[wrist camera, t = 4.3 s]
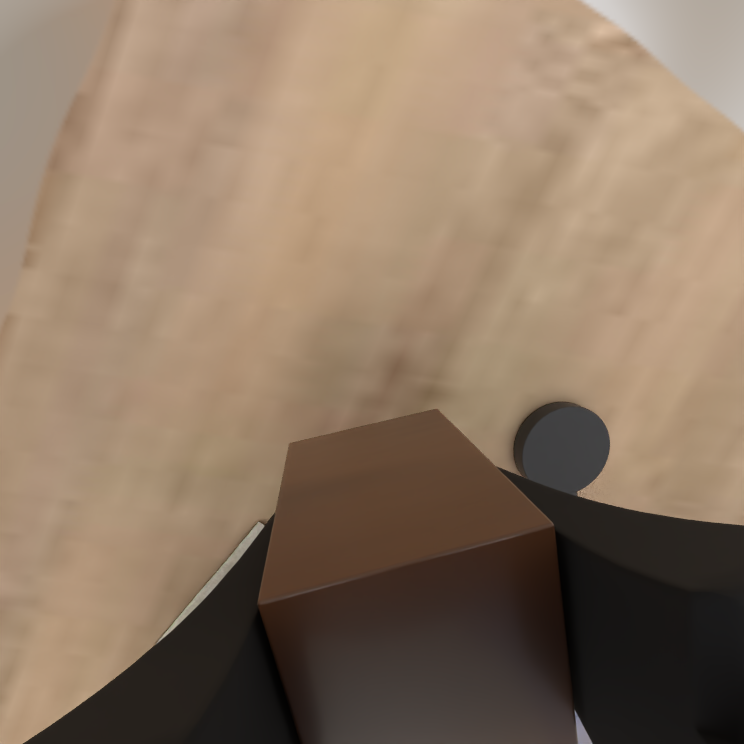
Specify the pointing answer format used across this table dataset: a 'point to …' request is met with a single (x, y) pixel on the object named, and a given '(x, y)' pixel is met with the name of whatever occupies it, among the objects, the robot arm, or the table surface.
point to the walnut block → (414, 594)
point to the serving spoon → (562, 447)
